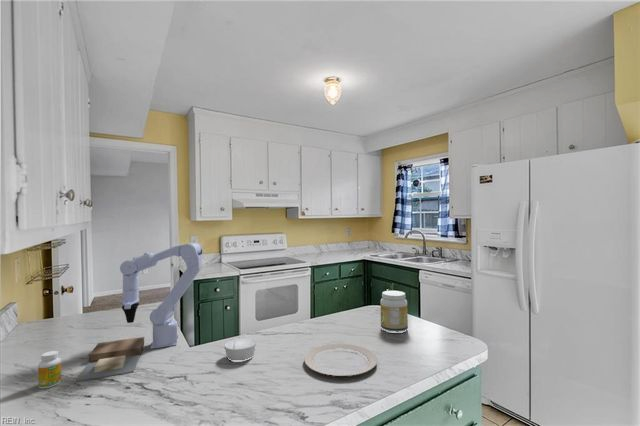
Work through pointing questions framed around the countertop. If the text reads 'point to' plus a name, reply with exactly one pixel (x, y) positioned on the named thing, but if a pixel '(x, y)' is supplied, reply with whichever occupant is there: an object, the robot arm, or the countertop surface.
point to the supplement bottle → (49, 370)
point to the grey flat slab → (89, 370)
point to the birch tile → (109, 364)
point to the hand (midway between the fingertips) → (130, 322)
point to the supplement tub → (394, 311)
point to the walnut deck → (117, 349)
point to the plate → (366, 352)
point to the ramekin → (240, 348)
